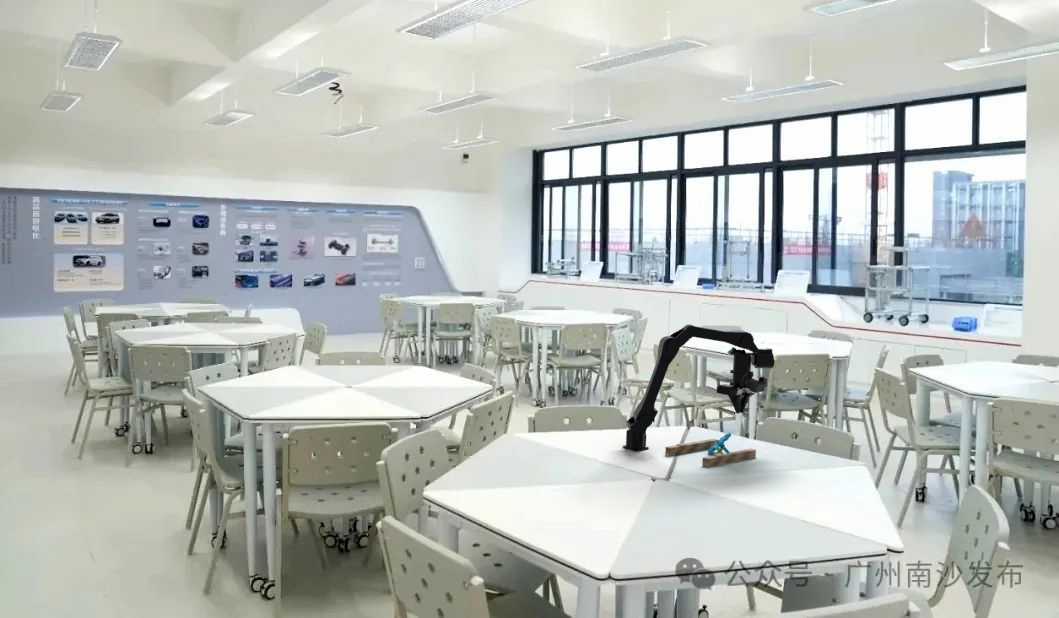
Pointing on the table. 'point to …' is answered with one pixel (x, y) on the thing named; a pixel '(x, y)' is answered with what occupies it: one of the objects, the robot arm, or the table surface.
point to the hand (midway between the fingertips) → (739, 413)
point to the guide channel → (711, 459)
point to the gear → (720, 445)
